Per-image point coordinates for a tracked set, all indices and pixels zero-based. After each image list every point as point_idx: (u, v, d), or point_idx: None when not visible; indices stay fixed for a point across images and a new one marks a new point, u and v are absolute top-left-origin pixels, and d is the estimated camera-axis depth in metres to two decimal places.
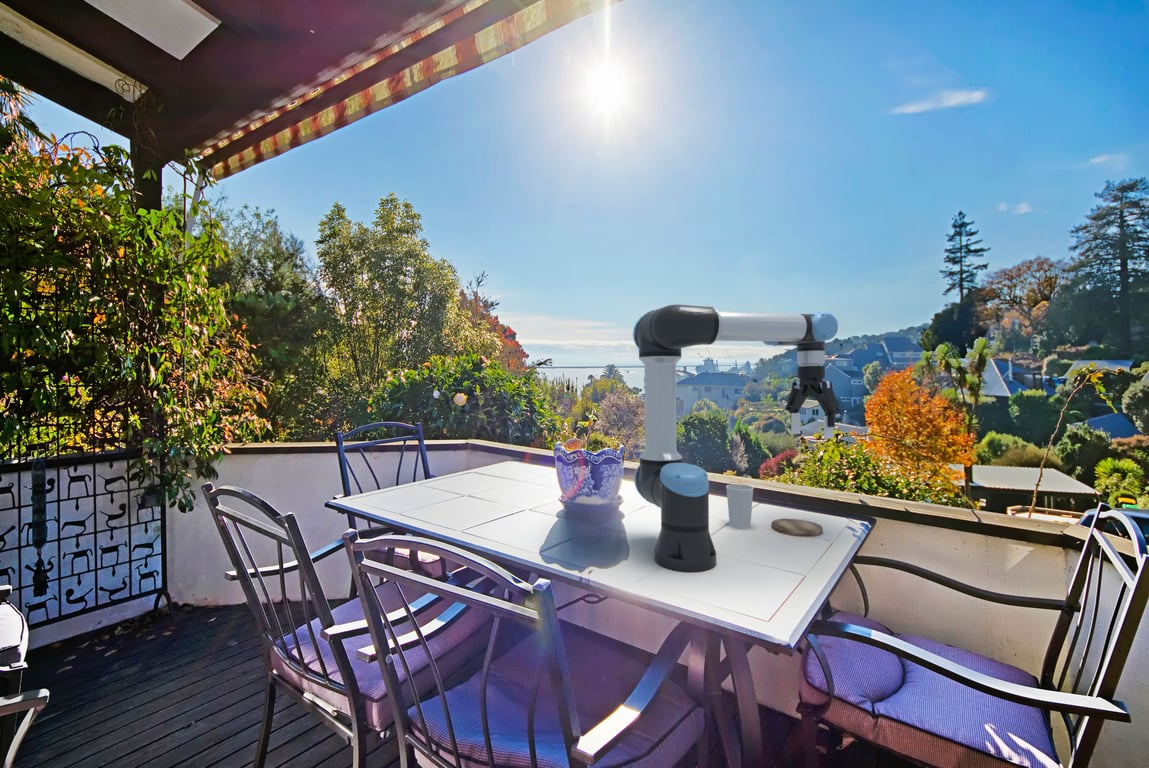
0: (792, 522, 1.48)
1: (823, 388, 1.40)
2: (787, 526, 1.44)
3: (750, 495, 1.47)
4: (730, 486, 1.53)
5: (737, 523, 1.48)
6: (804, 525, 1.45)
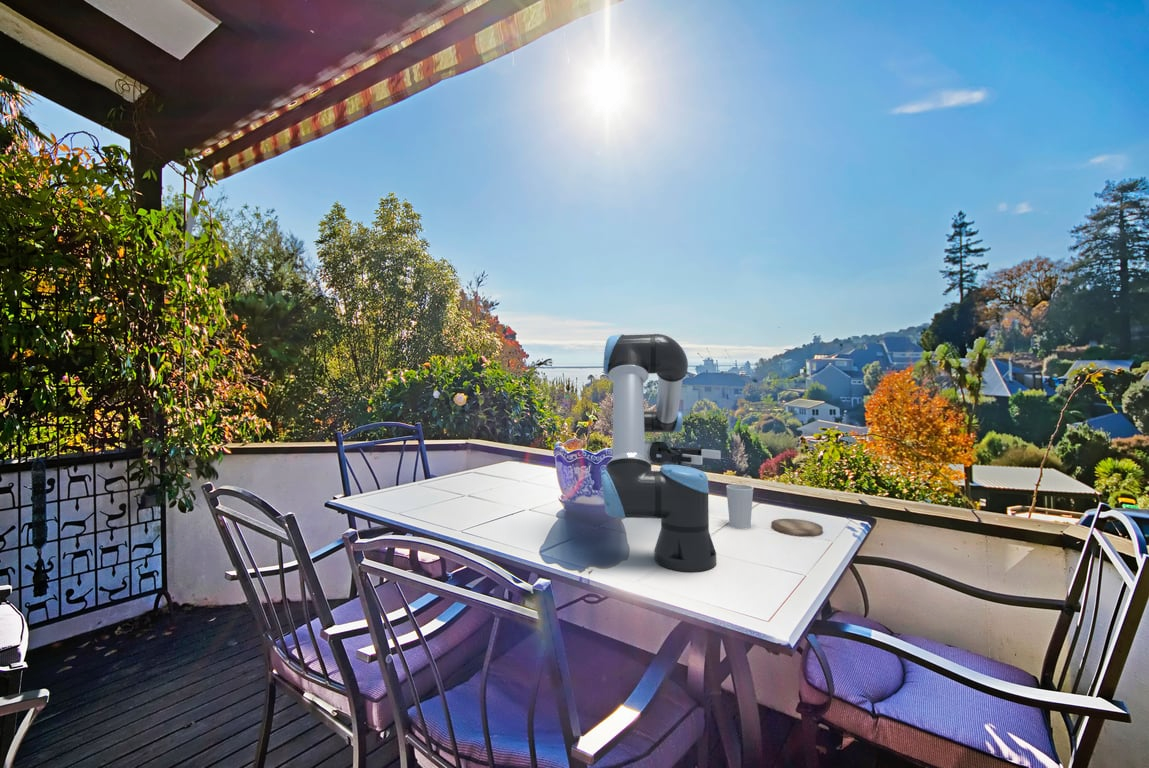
0: (792, 522, 1.48)
1: None
2: (787, 526, 1.44)
3: (750, 495, 1.47)
4: (730, 486, 1.53)
5: (737, 523, 1.48)
6: (804, 525, 1.45)
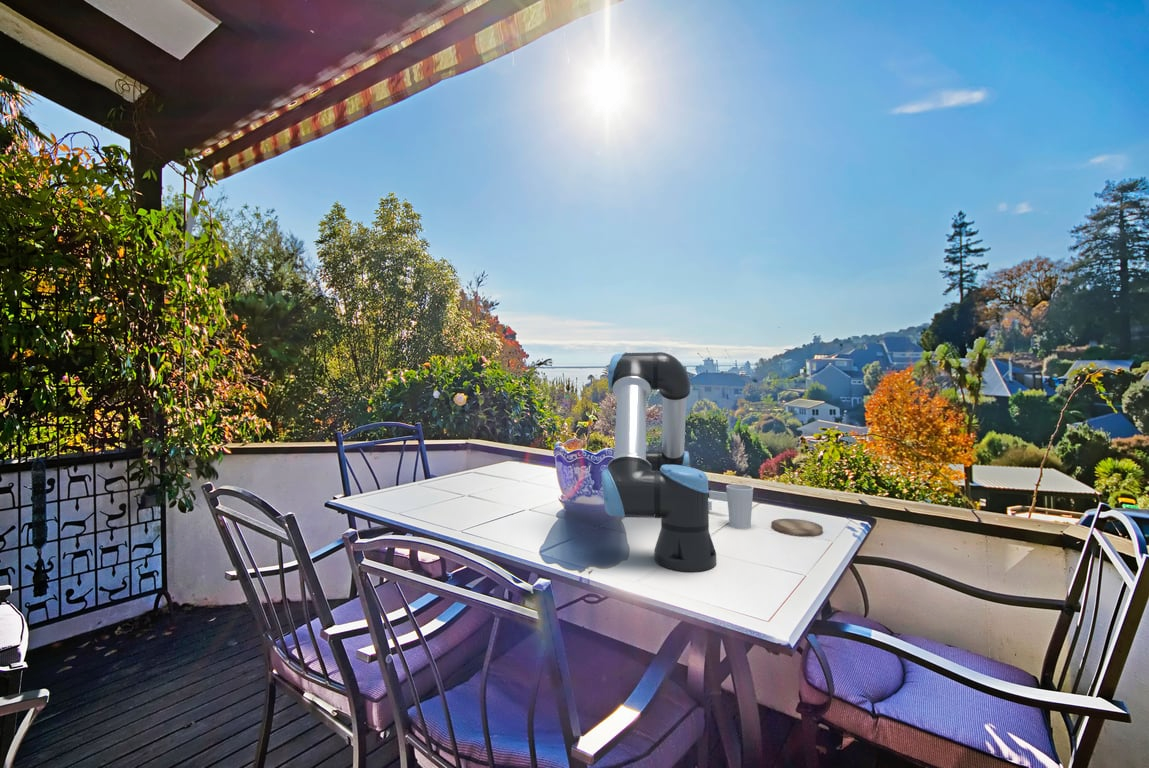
0: (792, 522, 1.48)
1: None
2: (787, 526, 1.44)
3: (750, 495, 1.47)
4: (730, 486, 1.53)
5: (737, 523, 1.48)
6: (804, 525, 1.45)
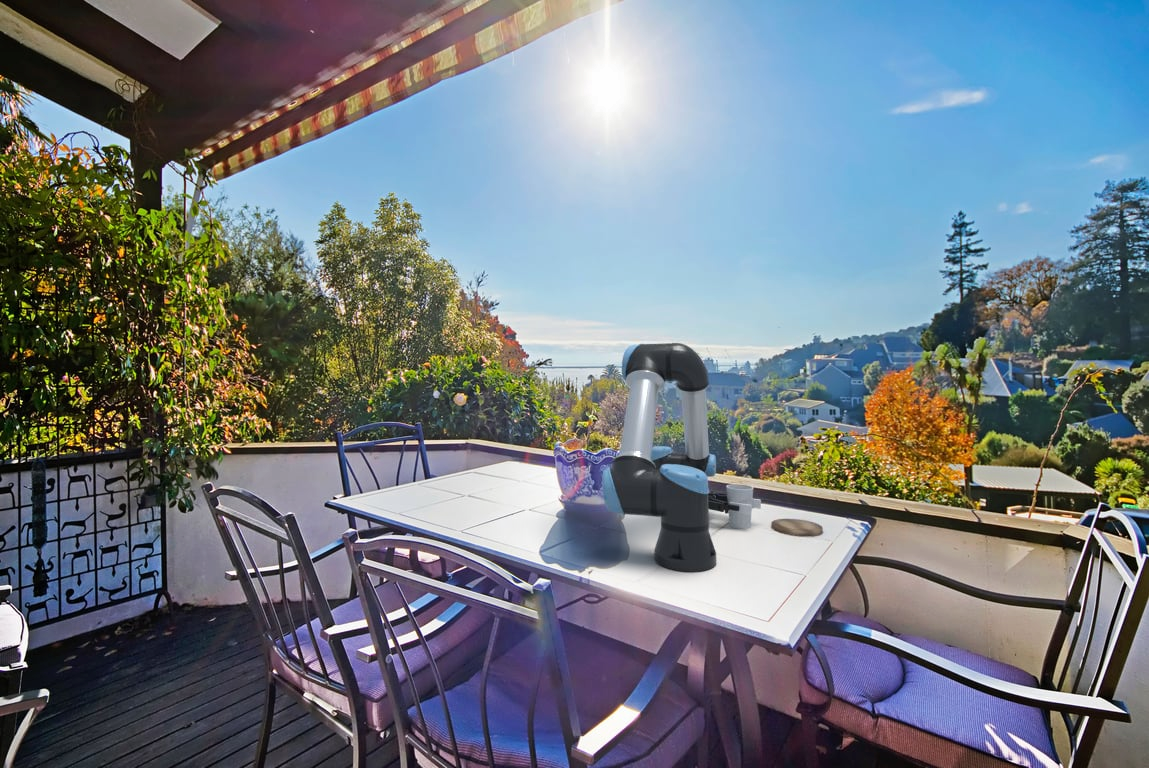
0: (792, 522, 1.48)
1: (716, 492, 1.61)
2: (787, 526, 1.44)
3: (750, 495, 1.47)
4: (730, 486, 1.53)
5: (737, 523, 1.48)
6: (804, 525, 1.45)
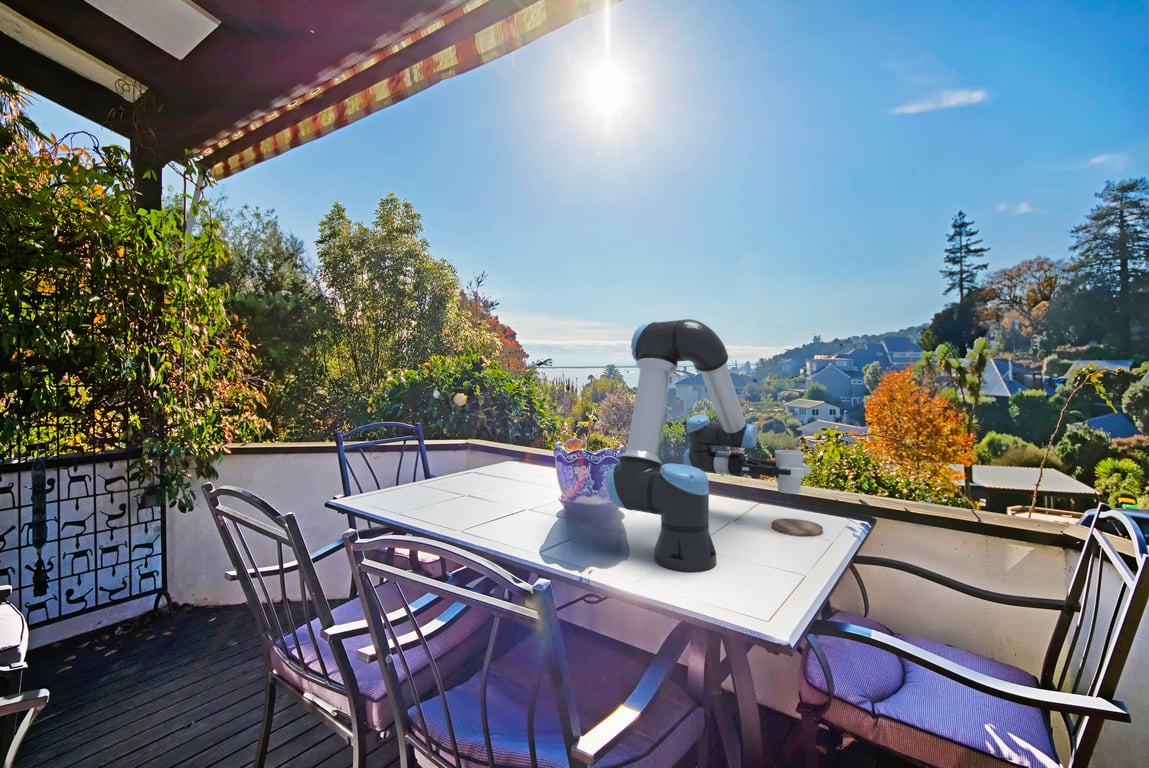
0: (792, 522, 1.48)
1: None
2: (787, 526, 1.44)
3: (801, 459, 1.44)
4: (778, 452, 1.50)
5: (787, 488, 1.45)
6: (804, 525, 1.45)
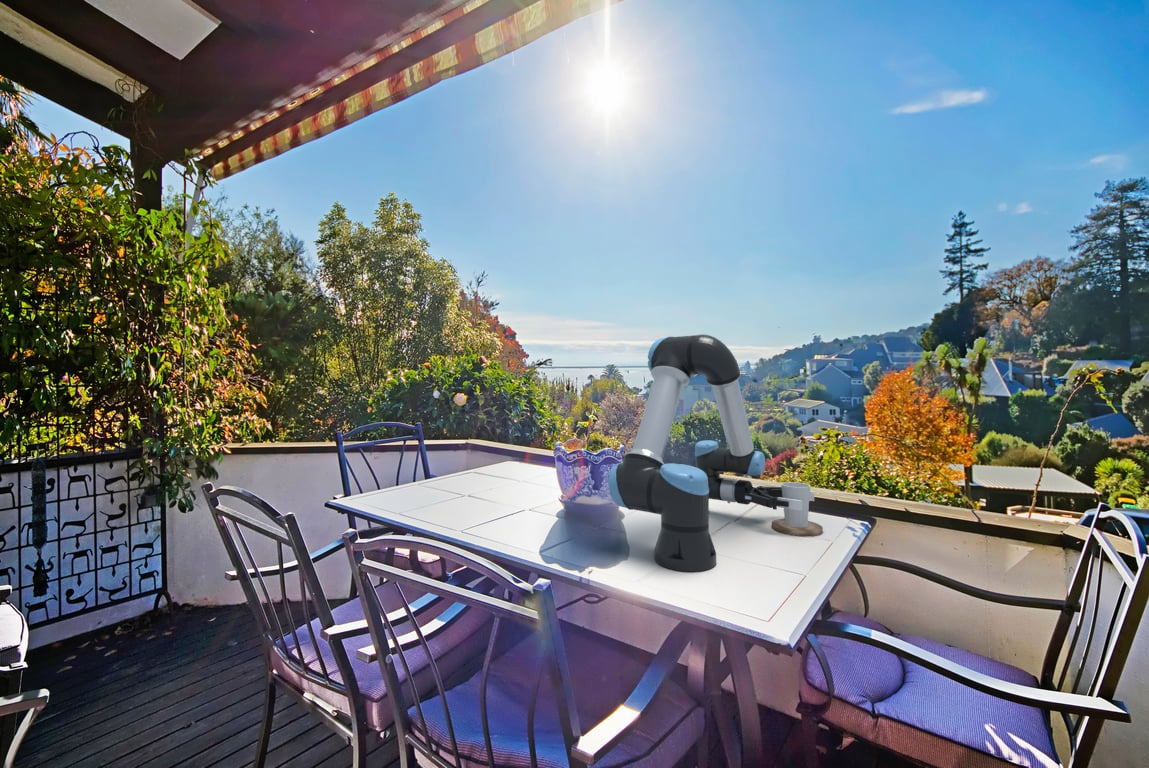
0: None
1: None
2: (787, 526, 1.44)
3: (807, 493, 1.43)
4: (785, 484, 1.49)
5: (794, 522, 1.43)
6: None
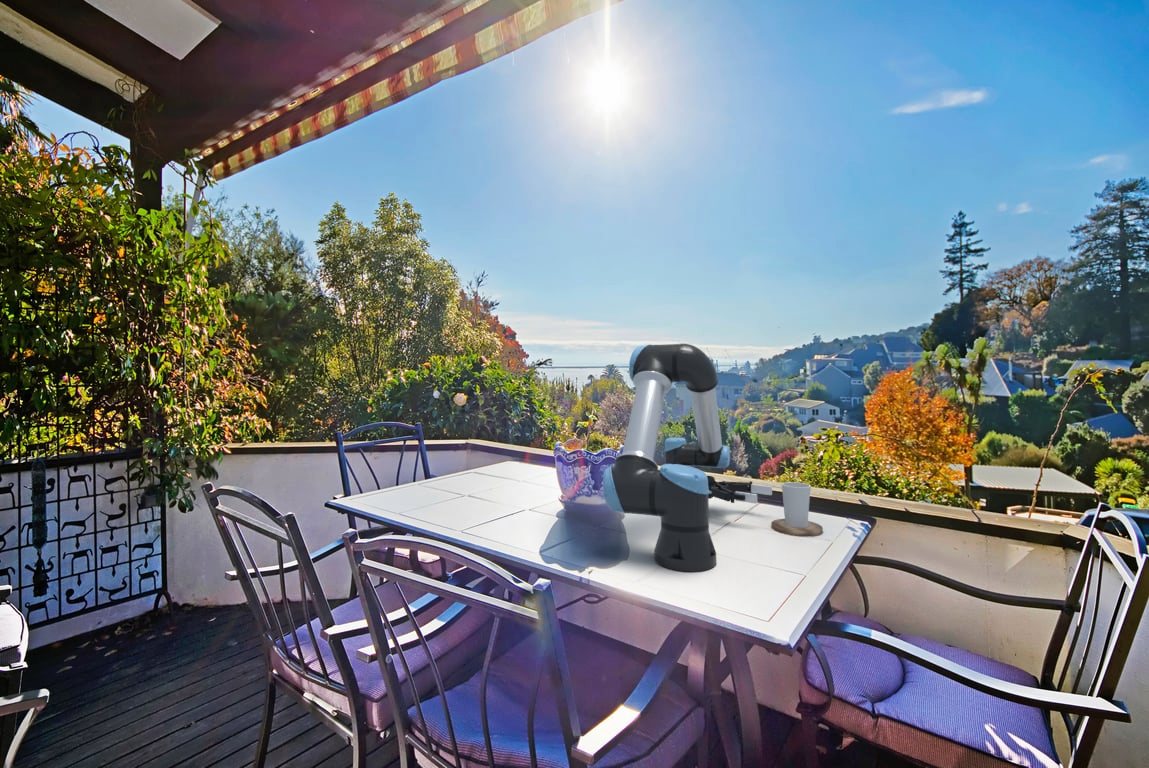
0: None
1: (727, 482, 1.66)
2: (787, 526, 1.44)
3: (808, 493, 1.43)
4: (785, 484, 1.49)
5: (794, 522, 1.43)
6: None
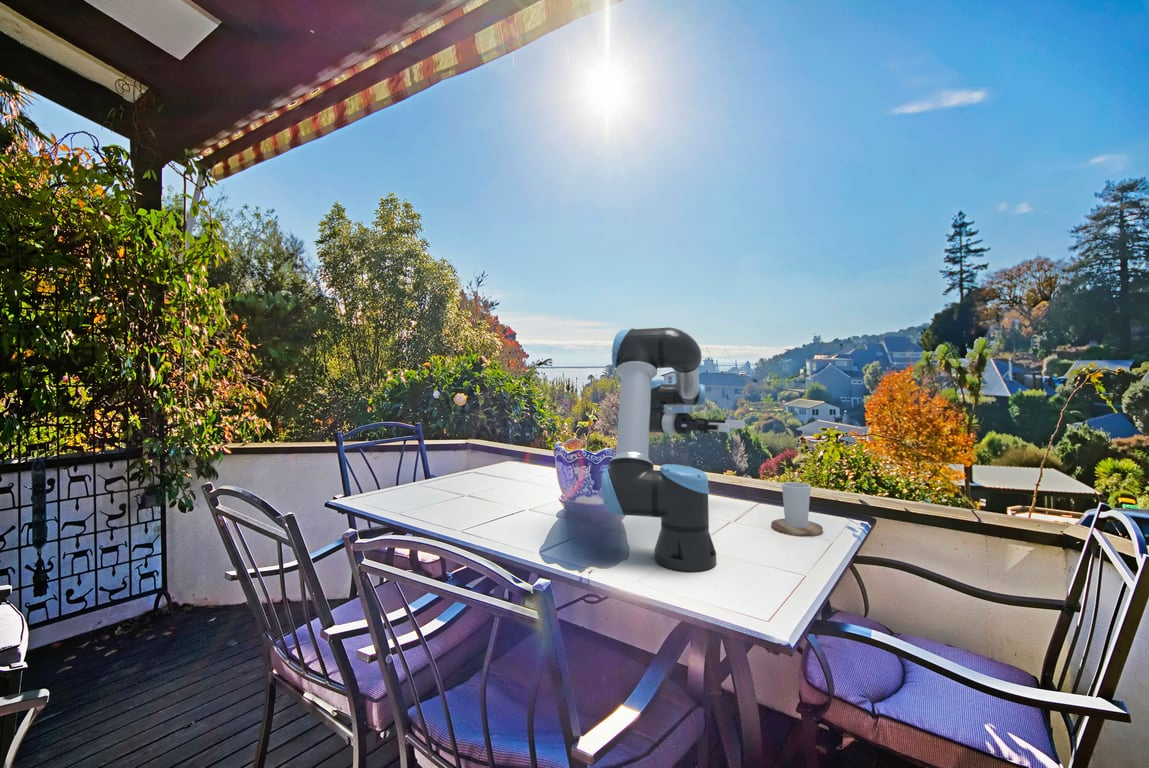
0: None
1: (703, 419, 1.72)
2: (787, 526, 1.44)
3: (808, 493, 1.43)
4: (785, 484, 1.49)
5: (794, 522, 1.43)
6: None
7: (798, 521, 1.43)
